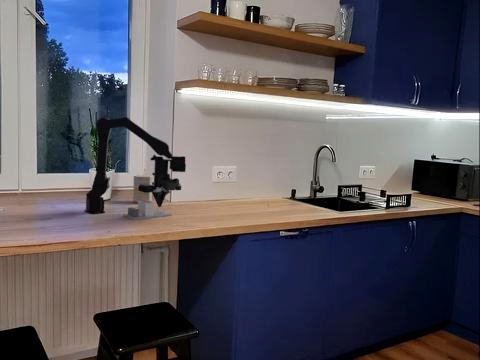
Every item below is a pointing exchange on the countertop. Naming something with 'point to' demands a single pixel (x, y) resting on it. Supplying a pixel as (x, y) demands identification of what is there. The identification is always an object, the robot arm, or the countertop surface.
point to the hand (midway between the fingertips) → (159, 206)
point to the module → (146, 207)
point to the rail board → (138, 215)
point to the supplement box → (138, 194)
